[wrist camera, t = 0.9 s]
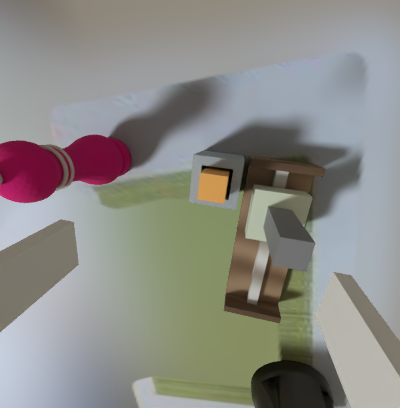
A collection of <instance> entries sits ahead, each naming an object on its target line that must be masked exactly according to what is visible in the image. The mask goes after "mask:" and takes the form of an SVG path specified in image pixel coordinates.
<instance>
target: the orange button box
mask: <svg viewBox="0 0 400 408" xmlns="http://www.w3.org/2000/svg"><path fill="white" fill-rule="evenodd" d="M207 166H213V167H220V168H227V169H233V175H232V182H231V188H229V187H228V189H227V194H226V198H225V202H224V204H223V203H216V202H210V201H204V200H197V197H198V188H199V179H200V173H201V172H202V171H203V170H204V169H205V168H206V167H207ZM243 167H244V155H237V154H229V153H221V152H213V151H205V150H204V151H201V152H199V153H196V154H194V156H193V166H192V176H191V186H190V197H189V202H190V203H196V204H203V205H209V206H215V207H222V208H228V209H234V210H236V207H237V201H238V196H239V190H240V184H241V179H242V173H243Z"/></svg>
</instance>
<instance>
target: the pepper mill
mask: <svg viewBox="0 0 400 408" xmlns="http://www.w3.org/2000/svg"><path fill="white" fill-rule="evenodd" d="M130 165H131V155H130V152H129V150H128V148H127V146H126V145H125V144H124V143H123V142H121V141H120V140H118V139H115V138H107V137H104V136H101V135H88V136H84V137H82V138H79V139H77V140H76V141H75V142H73V143H72V144H71V145H70V146H68V147H66V148H64V149H61V148H60V147H57V146H55V145H37V144H35V143H31V142H27V141H9V142H5V143H2V144H0V195H1V196H2V197H4V198H6V199H9V200H11V201H15V202H20V203H30V202H37V201H40V200H44V199H45V198H48V197H49V196H50V195H51V194H52V193H54V192H55V191H57V190H60V189H64V188H66V187H68V186H69V185H70V184H71V183H72V182H73V181H82V182H85V183H88V184H94V185H102V184H107V183H110V182H112V181H114V180H115V179H116V178H117V177H118V176H121V175H123V174H125V173H126V172H127V171H128V169H129V168H130Z"/></svg>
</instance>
